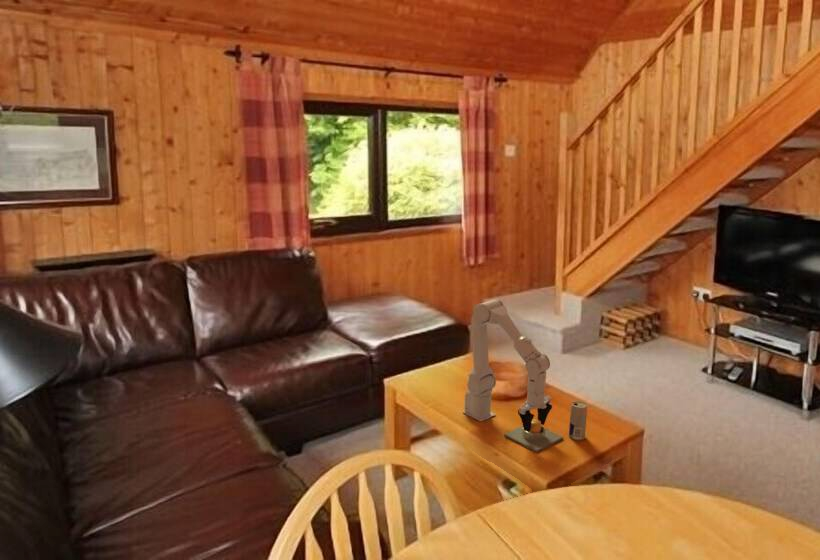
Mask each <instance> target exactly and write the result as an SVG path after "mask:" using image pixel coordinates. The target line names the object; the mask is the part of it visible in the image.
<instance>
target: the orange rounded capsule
mask: <svg viewBox="0 0 820 560" xmlns="http://www.w3.org/2000/svg"><path fill="white" fill-rule="evenodd" d="M541 426H542V424H541V421H539V420H538V418H537V419H536V418H533V419H532V423H531V429H530V432H531V433H540V432H541Z"/></svg>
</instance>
